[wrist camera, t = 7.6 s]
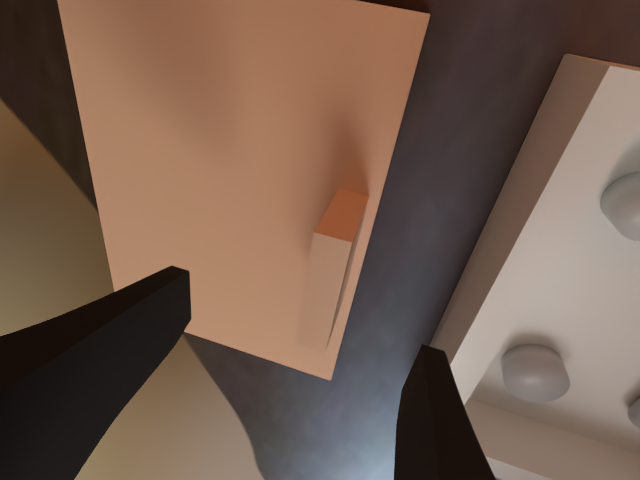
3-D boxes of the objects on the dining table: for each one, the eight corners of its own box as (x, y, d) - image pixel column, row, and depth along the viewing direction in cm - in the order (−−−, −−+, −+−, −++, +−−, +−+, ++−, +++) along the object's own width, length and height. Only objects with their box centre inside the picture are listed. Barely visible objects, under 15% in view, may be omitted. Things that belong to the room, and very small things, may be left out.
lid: (336, 362, 21) (312, 442, 17) (132, 295, 23) (68, 354, 19) (430, 14, 12) (427, 12, 8) (76, -52, 14) (-72, -80, 10)
